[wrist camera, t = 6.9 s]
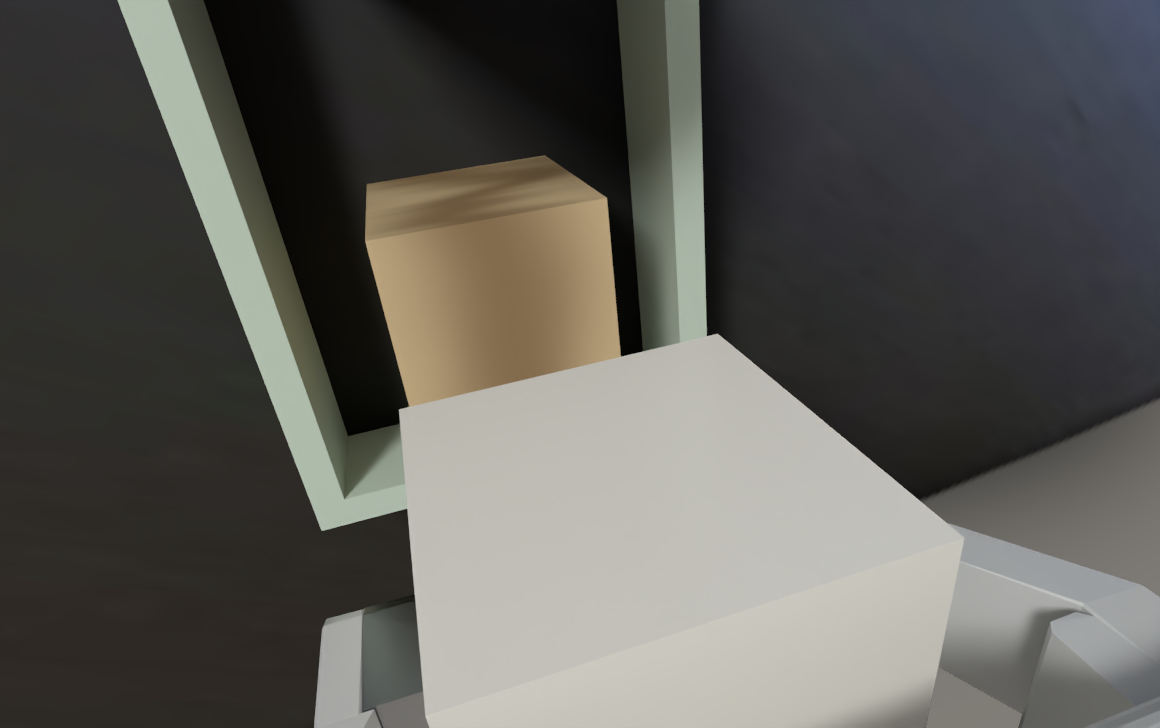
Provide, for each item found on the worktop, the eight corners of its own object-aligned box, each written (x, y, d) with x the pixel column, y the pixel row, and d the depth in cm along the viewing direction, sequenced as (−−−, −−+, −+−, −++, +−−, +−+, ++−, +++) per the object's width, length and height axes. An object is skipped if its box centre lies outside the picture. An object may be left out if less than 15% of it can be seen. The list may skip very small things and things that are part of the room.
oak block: (544, 155, 23) (606, 197, 17) (564, 314, 26) (624, 399, 20) (366, 183, 22) (364, 241, 16) (408, 347, 24) (420, 449, 18)
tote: (618, -490, 16) (684, -630, 13) (667, 381, 28) (709, 429, 25) (-17, -506, 14) (-147, -688, 10) (328, 463, 25) (321, 530, 22)
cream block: (722, 567, 13) (903, 834, 8) (465, 647, 12) (523, 997, 7) (717, 334, 10) (965, 537, 6) (398, 409, 9) (426, 715, 5)
